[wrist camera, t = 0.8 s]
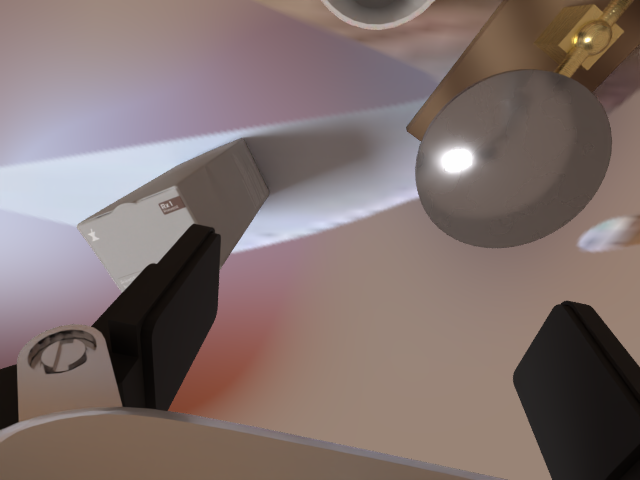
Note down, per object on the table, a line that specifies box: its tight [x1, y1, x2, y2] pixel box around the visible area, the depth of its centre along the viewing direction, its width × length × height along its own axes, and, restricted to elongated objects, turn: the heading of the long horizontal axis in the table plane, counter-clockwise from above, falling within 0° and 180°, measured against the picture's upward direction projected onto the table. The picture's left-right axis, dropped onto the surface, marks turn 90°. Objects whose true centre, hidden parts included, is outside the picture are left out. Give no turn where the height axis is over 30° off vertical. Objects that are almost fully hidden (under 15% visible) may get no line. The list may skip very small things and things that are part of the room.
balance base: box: [406, 0, 640, 141], centre depth 30 cm, size 24×10×2 cm, turn 147°
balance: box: [415, 0, 634, 248], centre depth 25 cm, size 30×12×10 cm, turn 147°
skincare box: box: [77, 138, 269, 292], centre depth 32 cm, size 8×7×16 cm
